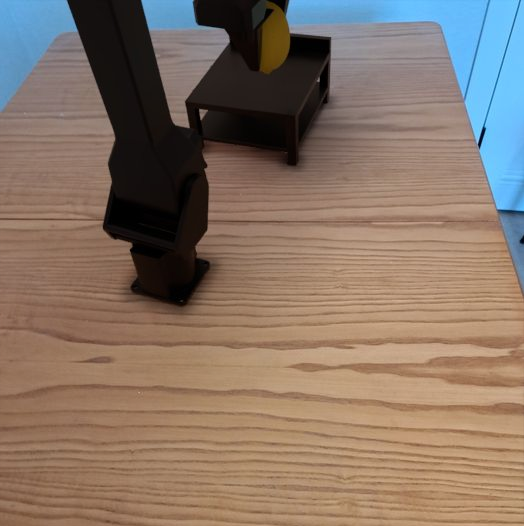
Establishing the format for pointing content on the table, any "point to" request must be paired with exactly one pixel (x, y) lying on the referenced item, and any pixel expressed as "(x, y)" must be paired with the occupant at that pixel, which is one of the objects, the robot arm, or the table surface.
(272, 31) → the lemon
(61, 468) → the table surface
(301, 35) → the dark coffee table
